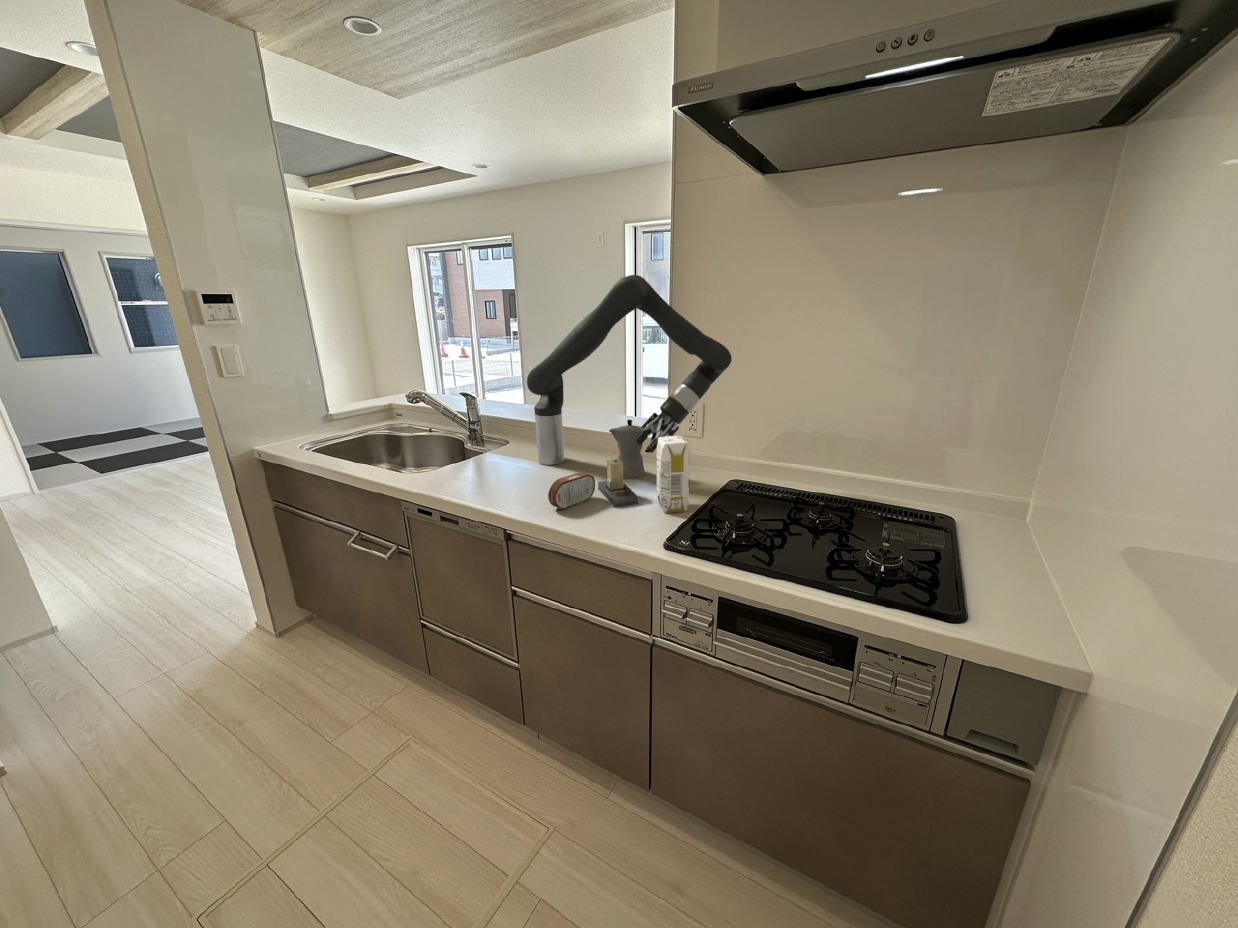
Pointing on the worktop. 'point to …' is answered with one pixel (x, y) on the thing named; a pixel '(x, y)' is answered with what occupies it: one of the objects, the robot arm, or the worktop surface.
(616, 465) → the wooden post with button
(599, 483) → the grey base with slots
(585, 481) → the tin
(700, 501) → the worktop surface
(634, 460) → the coffeepot
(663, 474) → the juice carton
